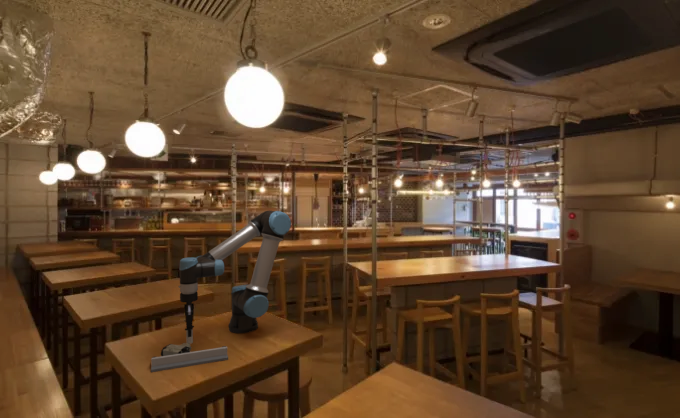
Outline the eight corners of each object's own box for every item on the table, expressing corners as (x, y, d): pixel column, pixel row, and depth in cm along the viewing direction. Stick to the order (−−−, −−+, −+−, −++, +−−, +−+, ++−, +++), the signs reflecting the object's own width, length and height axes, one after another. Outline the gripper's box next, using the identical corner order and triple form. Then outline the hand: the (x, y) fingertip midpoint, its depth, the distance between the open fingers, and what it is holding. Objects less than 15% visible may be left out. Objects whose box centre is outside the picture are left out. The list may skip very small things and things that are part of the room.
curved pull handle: (225, 351, 174) (225, 342, 174) (228, 359, 165) (228, 350, 165) (152, 362, 162) (152, 353, 162) (150, 372, 154) (150, 362, 153)
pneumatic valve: (198, 353, 172) (180, 364, 161) (176, 350, 175) (157, 361, 164) (198, 341, 172) (180, 351, 160) (176, 338, 175) (157, 348, 164)
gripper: (179, 289, 178) (180, 339, 179) (179, 296, 166) (180, 349, 168) (197, 287, 181) (197, 336, 182) (198, 294, 169) (199, 347, 170)
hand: (189, 342), depth 175 cm, fingers closed
